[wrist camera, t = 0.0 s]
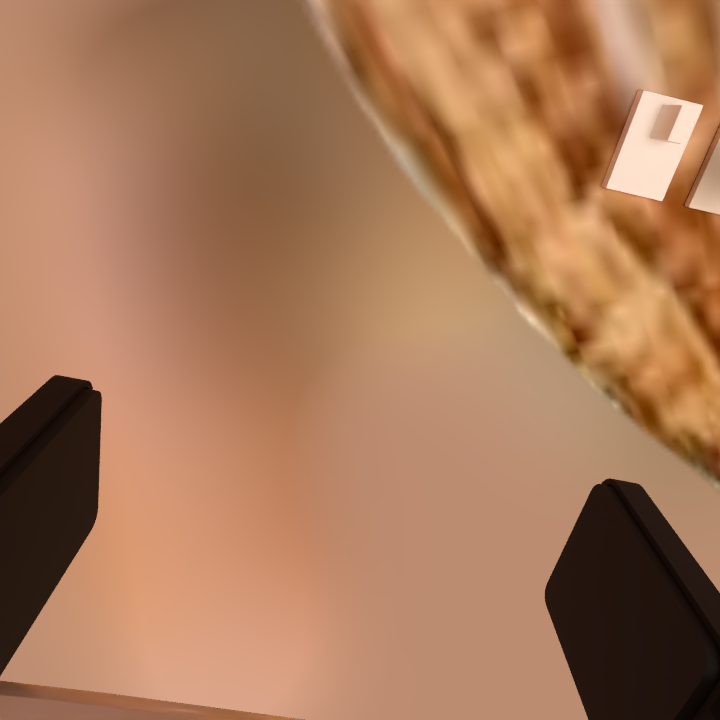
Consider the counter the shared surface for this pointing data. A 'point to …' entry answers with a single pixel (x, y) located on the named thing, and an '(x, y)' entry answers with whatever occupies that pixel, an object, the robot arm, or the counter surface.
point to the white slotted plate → (651, 145)
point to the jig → (708, 181)
